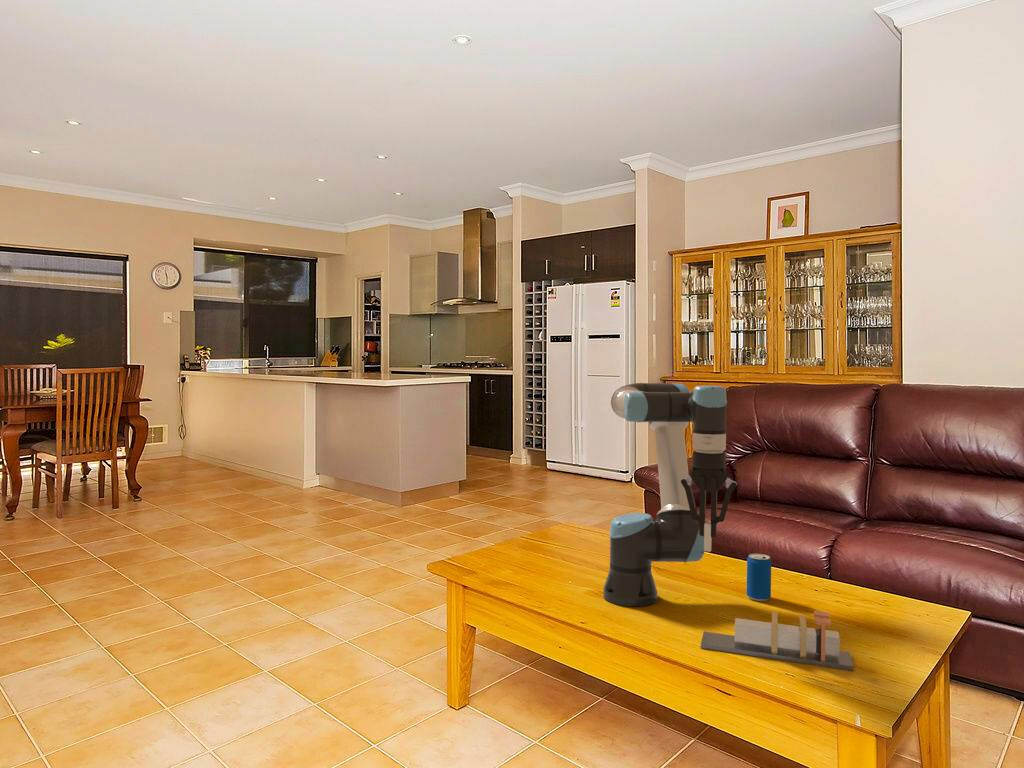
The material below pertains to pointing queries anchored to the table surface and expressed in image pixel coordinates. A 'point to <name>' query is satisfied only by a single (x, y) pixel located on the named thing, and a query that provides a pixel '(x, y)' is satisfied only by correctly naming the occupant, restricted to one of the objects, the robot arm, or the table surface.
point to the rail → (773, 652)
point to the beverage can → (759, 577)
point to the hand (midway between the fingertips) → (707, 549)
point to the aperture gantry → (822, 628)
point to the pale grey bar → (785, 636)
